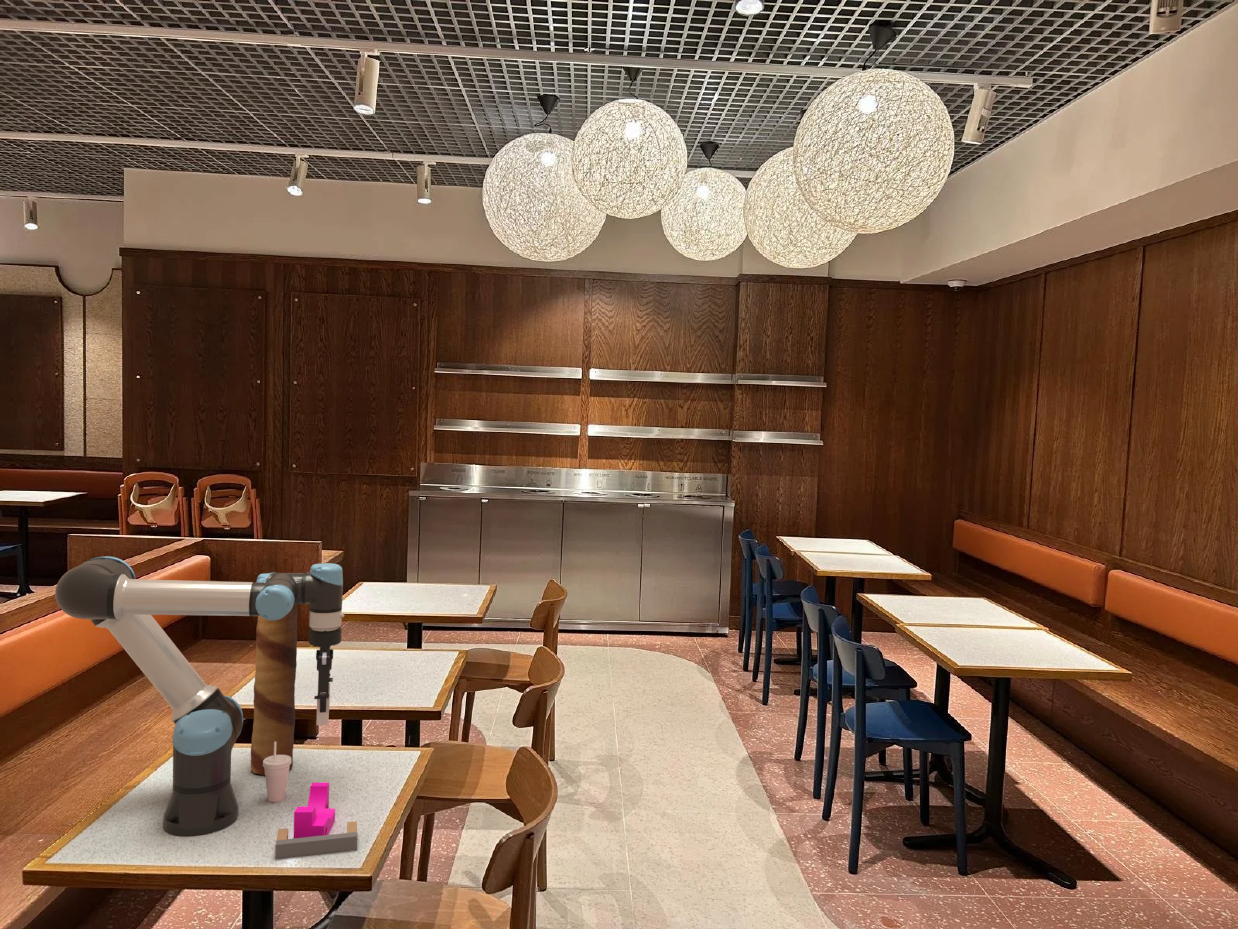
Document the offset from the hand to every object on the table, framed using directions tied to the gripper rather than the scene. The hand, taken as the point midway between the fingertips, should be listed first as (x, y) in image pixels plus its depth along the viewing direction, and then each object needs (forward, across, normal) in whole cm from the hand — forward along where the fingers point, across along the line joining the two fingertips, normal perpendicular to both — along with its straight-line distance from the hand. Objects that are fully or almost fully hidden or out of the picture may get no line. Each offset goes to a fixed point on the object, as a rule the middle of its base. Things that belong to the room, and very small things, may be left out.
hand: (323, 716), depth 209 cm
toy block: (+18, -22, 0) cm, 28 cm away
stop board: (+18, -34, 0) cm, 38 cm away
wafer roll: (+18, +14, +12) cm, 26 cm away
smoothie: (+18, -4, +10) cm, 21 cm away
